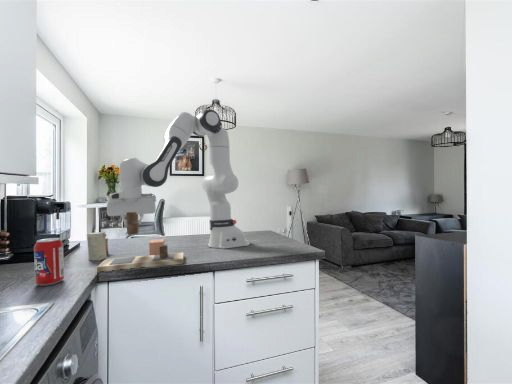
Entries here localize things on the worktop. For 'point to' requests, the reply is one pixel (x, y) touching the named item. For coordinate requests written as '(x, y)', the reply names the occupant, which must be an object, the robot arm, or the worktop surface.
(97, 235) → the skincare box
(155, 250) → the block
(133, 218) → the peg
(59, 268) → the soda can
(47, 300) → the worktop surface
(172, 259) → the board
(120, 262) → the pad
